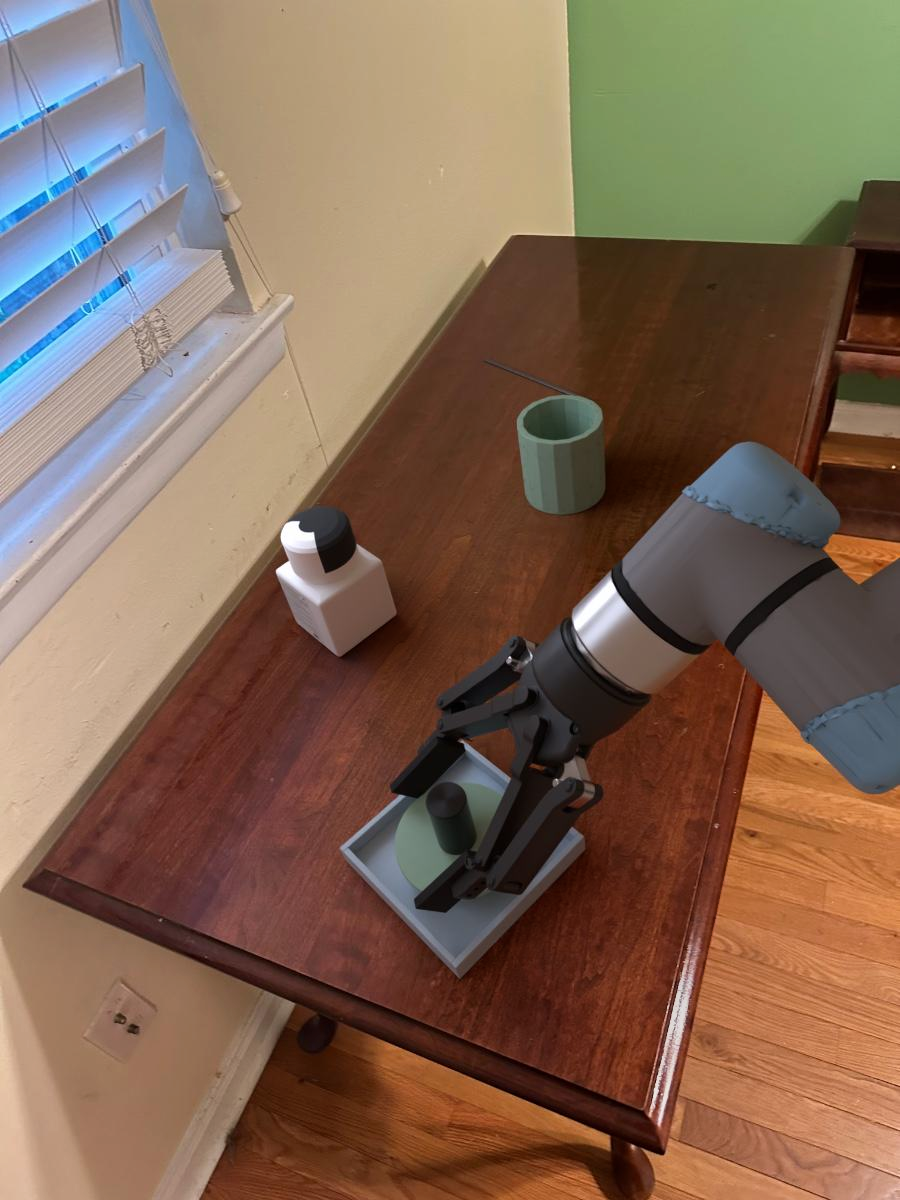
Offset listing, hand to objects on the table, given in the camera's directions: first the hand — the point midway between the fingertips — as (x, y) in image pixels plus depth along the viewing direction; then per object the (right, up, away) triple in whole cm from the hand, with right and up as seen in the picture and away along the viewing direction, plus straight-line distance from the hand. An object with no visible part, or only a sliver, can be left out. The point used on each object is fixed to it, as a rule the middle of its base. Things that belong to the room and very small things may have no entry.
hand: (416, 846), depth 65 cm
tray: (+4, -1, +2) cm, 4 cm away
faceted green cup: (+16, +31, +32) cm, 47 cm away
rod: (+14, +48, +50) cm, 70 cm away
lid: (+3, 0, +1) cm, 3 cm away
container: (-8, +17, +23) cm, 29 cm away
